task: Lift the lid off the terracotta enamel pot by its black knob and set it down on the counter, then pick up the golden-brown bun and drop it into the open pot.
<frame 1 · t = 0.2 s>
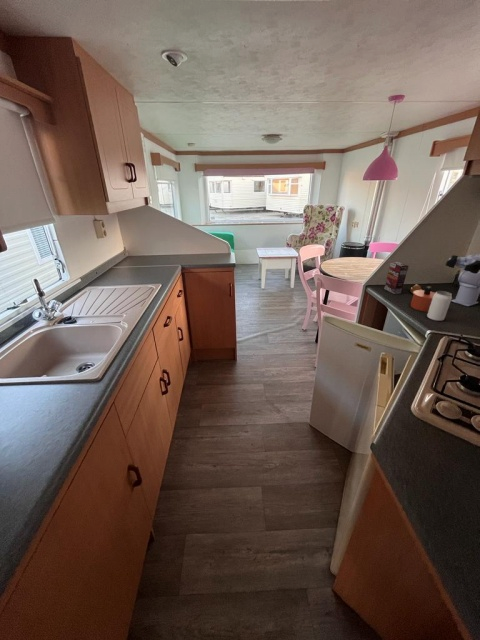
hand: (456, 265, 118), 21 cm above the counter, tool horizontal, fingers open, 7 cm apart
supplement box: (392, 291, 151), on the counter
pot: (422, 307, 130), on the counter
can: (435, 318, 119), on the counter
lid: (426, 295, 127), point 6 cm above the counter, touching pot
bun: (415, 292, 149), on the counter
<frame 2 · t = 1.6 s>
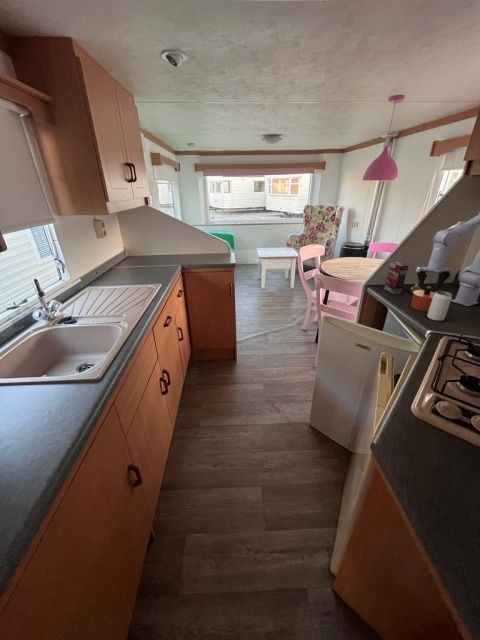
hand: (428, 287, 125), 10 cm above the counter, tool pointing down, fingers open, 7 cm apart
nothing on the counter moved.
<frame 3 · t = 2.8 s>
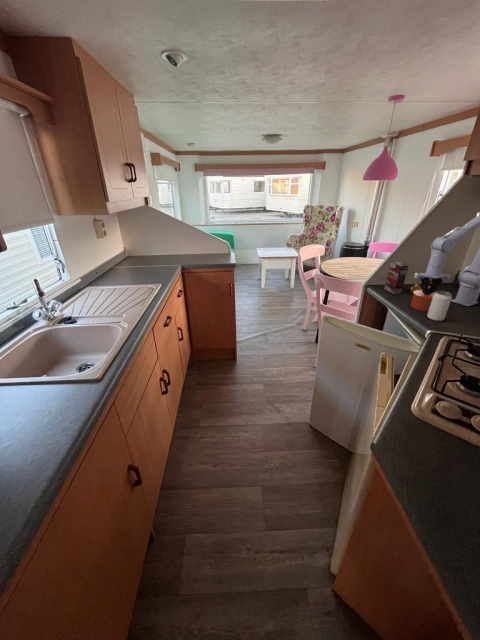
hand: (427, 293, 127), 8 cm above the counter, tool pointing down, fingers closed on lid, 2 cm apart
lid: (426, 295, 127), point 7 cm above the counter, touching gripper, pot
everything else where it was.
when the fingers open (2 cm above the counter, at t = 7.1 s): lid stays where it is, point 1 cm above the counter.
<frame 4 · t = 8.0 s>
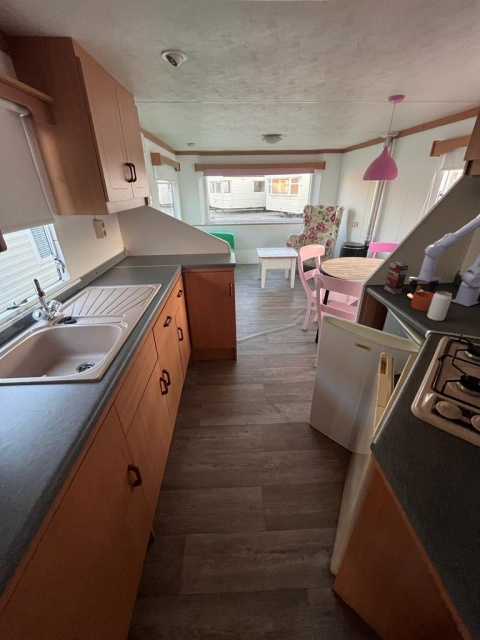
hand: (420, 294, 139), 2 cm above the counter, tool pointing down, fingers open, 7 cm apart
lid: (419, 297, 140), point 1 cm above the counter
everything else where it was.
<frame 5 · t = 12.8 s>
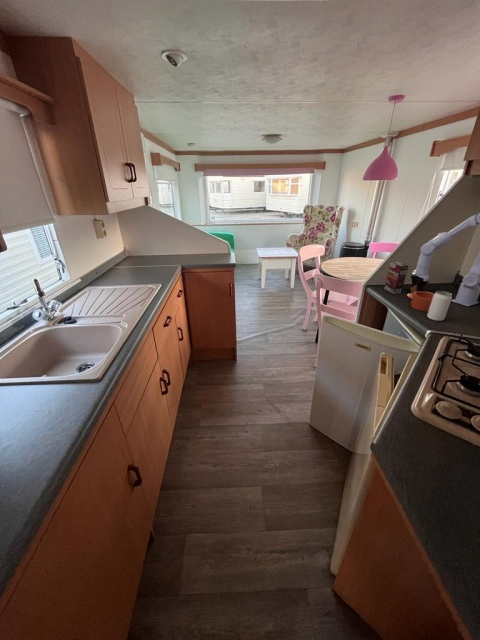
hand: (416, 289, 149), 1 cm above the counter, tool pointing down, fingers closed on bun, 5 cm apart
bun: (415, 292, 149), on the counter, touching gripper
everything else where it was.
when the fingers open (7 cm above the counter, at t = 41.6 s): bun drops 5 cm, resting on pot.
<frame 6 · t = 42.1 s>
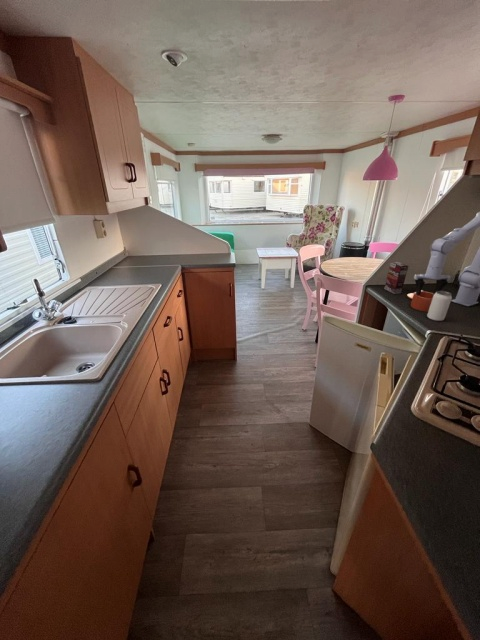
hand: (426, 294, 127), 7 cm above the counter, tool pointing down, fingers open, 7 cm apart
bun: (423, 306, 130), resting on pot
everything else where it was.
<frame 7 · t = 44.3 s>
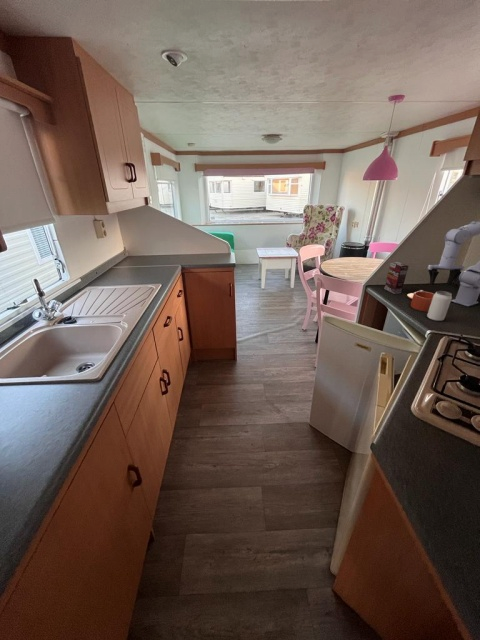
hand: (440, 284, 129), 10 cm above the counter, tool pointing down, fingers open, 7 cm apart
nothing on the counter moved.
at the end: bun 0.1 cm off-centre in the pot, point 0.5 cm above the pot's base; lid inside the target area (0.0 cm from its centre), point 0.6 cm above the counter; the gripper is holding nothing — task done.
